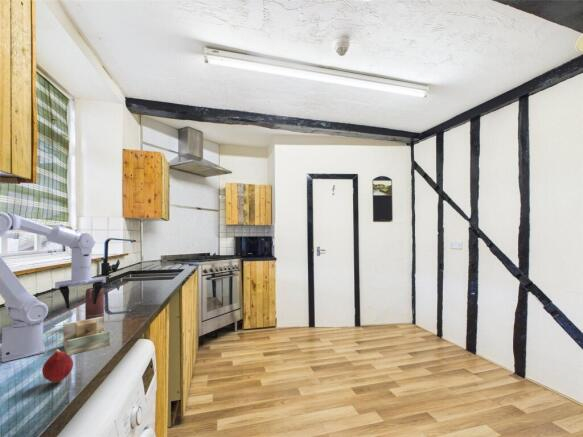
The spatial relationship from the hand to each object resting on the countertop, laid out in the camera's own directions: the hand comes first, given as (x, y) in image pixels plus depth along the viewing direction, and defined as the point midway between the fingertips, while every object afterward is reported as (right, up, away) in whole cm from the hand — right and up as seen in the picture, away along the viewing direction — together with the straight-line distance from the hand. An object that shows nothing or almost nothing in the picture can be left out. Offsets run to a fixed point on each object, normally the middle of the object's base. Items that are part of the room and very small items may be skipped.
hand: (81, 305), depth 103 cm
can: (-4, -11, +12) cm, 17 cm away
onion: (+17, -9, -32) cm, 38 cm away
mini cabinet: (+7, -9, -8) cm, 14 cm away
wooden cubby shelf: (+8, -10, -9) cm, 16 cm away
